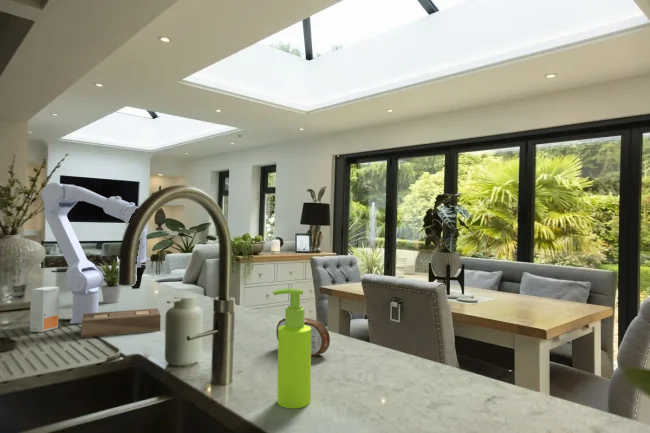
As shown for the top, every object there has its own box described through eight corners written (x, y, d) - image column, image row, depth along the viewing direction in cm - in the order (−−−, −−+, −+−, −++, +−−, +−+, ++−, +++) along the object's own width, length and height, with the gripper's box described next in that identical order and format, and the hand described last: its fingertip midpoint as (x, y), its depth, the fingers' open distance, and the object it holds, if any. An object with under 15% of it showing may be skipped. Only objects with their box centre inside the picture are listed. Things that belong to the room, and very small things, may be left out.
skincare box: (42, 332, 123) (42, 289, 124) (29, 331, 124) (29, 289, 124) (59, 327, 129) (59, 286, 130) (46, 326, 130) (47, 286, 130)
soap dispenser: (272, 395, 81) (273, 286, 81) (309, 394, 82) (310, 286, 82) (270, 409, 75) (272, 292, 76) (311, 408, 76) (312, 292, 76)
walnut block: (83, 329, 128) (83, 313, 128) (157, 322, 136) (157, 308, 136) (81, 337, 119) (81, 321, 119) (160, 330, 127) (160, 314, 127)
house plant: (95, 298, 176) (96, 257, 176) (133, 297, 179) (133, 257, 179) (85, 305, 162) (85, 261, 162) (125, 304, 165) (126, 260, 165)
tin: (330, 357, 105) (330, 321, 105) (322, 360, 102) (323, 324, 102) (282, 346, 113) (282, 313, 113) (274, 348, 111) (274, 315, 111)
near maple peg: (93, 329, 126) (93, 315, 126) (107, 327, 128) (107, 314, 128) (93, 332, 123) (93, 317, 123) (107, 330, 124) (107, 316, 124)
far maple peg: (135, 325, 131) (135, 312, 131) (148, 324, 132) (148, 311, 132) (136, 328, 128) (136, 314, 128) (149, 327, 129) (149, 313, 129)
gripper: (152, 245, 133) (151, 291, 133) (148, 243, 146) (147, 284, 146) (126, 246, 130) (125, 292, 130) (124, 243, 143) (124, 285, 143)
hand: (135, 288), depth 137 cm, fingers closed
